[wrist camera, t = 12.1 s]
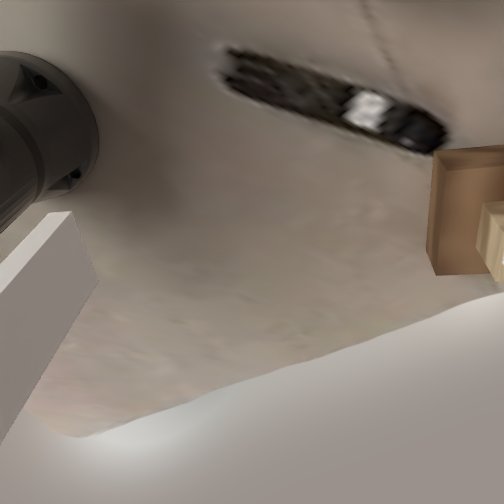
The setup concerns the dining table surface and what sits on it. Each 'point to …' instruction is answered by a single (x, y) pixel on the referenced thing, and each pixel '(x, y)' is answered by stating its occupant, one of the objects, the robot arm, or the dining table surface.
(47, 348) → the robot arm
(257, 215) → the dining table surface
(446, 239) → the walnut pedestal
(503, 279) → the oak block
